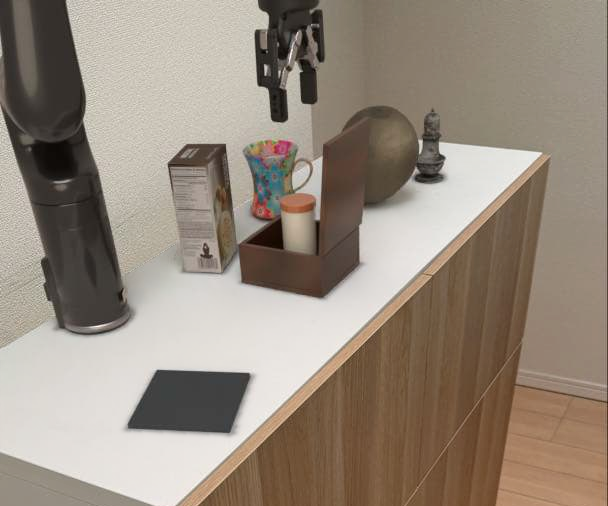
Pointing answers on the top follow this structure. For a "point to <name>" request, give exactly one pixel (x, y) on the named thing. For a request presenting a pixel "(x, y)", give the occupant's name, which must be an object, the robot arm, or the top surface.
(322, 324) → the top surface
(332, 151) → the lid
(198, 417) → the mat
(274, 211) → the mug
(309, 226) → the canister
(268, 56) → the robot arm
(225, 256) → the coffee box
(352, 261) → the chest
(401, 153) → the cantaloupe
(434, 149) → the salt shaker
